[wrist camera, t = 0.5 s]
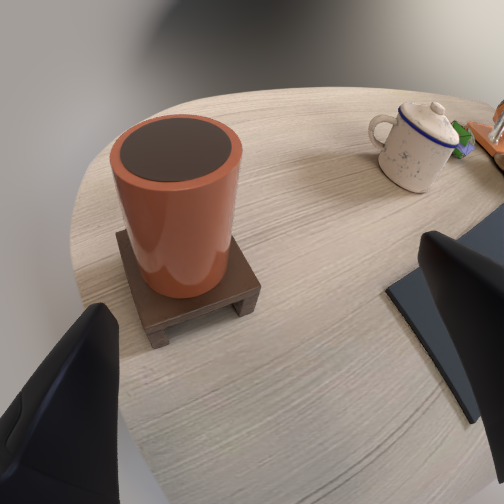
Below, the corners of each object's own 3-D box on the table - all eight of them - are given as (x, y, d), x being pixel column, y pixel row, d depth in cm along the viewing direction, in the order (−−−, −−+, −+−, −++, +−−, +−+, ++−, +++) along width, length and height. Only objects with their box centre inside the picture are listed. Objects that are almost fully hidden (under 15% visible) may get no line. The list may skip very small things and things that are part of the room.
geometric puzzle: (459, 159, 41) (483, 130, 37) (430, 134, 44) (454, 106, 40) (458, 172, 46) (481, 145, 43) (433, 149, 49) (456, 123, 46)
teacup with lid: (423, 165, 40) (455, 105, 31) (436, 203, 35) (479, 137, 26) (354, 139, 41) (380, 71, 31) (358, 175, 35) (393, 95, 26)
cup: (227, 301, 19) (243, 193, 12) (130, 295, 18) (90, 188, 11) (228, 225, 22) (242, 116, 15) (146, 221, 22) (129, 113, 14)
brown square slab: (154, 349, 20) (143, 329, 17) (125, 262, 24) (114, 232, 21) (253, 311, 23) (262, 286, 20) (212, 234, 27) (214, 202, 24)
